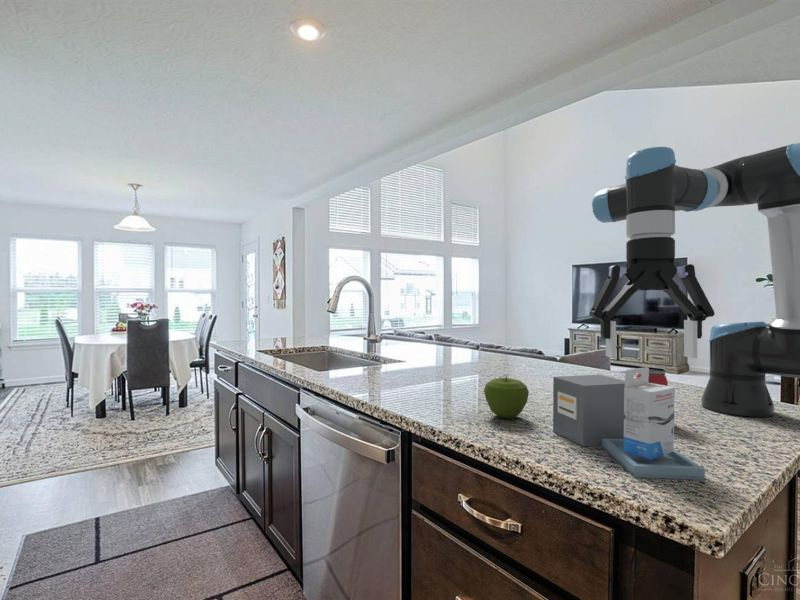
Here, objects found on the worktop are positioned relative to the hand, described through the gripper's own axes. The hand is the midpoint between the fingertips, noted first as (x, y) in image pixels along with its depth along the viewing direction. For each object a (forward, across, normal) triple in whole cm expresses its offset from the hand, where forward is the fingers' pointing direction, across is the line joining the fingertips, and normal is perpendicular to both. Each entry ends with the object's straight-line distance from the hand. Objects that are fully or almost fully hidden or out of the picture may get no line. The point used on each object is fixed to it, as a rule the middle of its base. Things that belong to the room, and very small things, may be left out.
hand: (650, 357), depth 77 cm
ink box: (+17, 0, 0) cm, 17 cm away
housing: (+19, +6, -14) cm, 24 cm away
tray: (+19, +1, 0) cm, 19 cm away
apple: (+19, +22, -27) cm, 39 cm away
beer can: (+19, -12, -27) cm, 35 cm away
